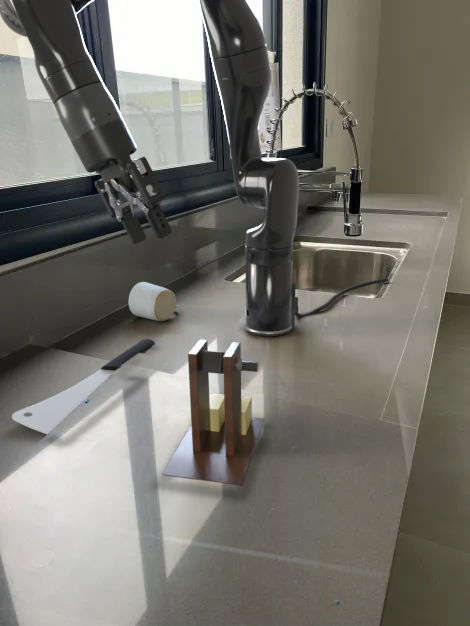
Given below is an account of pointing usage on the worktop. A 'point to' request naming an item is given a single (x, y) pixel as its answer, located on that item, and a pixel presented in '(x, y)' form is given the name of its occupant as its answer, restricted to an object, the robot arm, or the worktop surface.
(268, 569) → the worktop surface
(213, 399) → the butter
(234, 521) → the worktop surface
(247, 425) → the butter
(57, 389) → the worktop surface
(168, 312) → the ceramic mug
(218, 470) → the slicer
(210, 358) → the lever
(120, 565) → the worktop surface
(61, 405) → the kitchen cleaver
